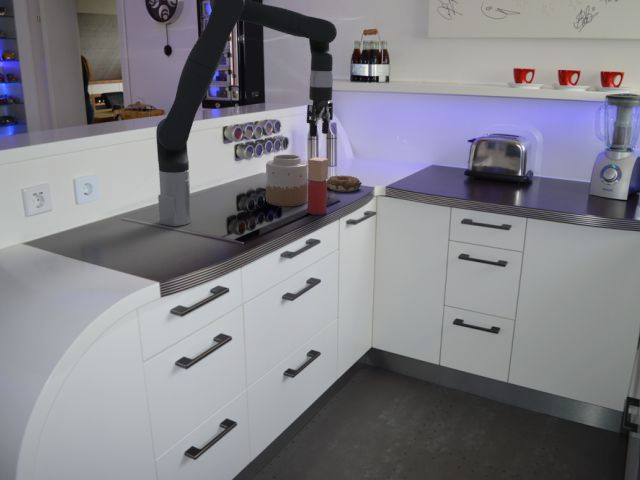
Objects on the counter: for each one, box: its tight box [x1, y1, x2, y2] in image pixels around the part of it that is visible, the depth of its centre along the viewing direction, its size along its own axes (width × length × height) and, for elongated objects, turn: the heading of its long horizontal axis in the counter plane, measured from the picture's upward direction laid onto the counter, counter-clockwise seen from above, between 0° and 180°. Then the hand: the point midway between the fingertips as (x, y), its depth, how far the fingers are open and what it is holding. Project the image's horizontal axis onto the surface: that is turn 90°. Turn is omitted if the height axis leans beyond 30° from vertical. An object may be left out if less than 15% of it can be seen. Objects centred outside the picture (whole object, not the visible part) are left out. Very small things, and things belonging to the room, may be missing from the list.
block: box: [307, 156, 329, 182], centre depth 206 cm, size 5×5×7 cm
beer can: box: [307, 179, 328, 216], centre depth 209 cm, size 7×7×12 cm
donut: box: [326, 174, 363, 193], centre depth 245 cm, size 14×14×5 cm
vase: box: [265, 154, 308, 207], centre depth 222 cm, size 15×15×17 cm
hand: (319, 135), depth 202 cm, fingers open, 8 cm apart
